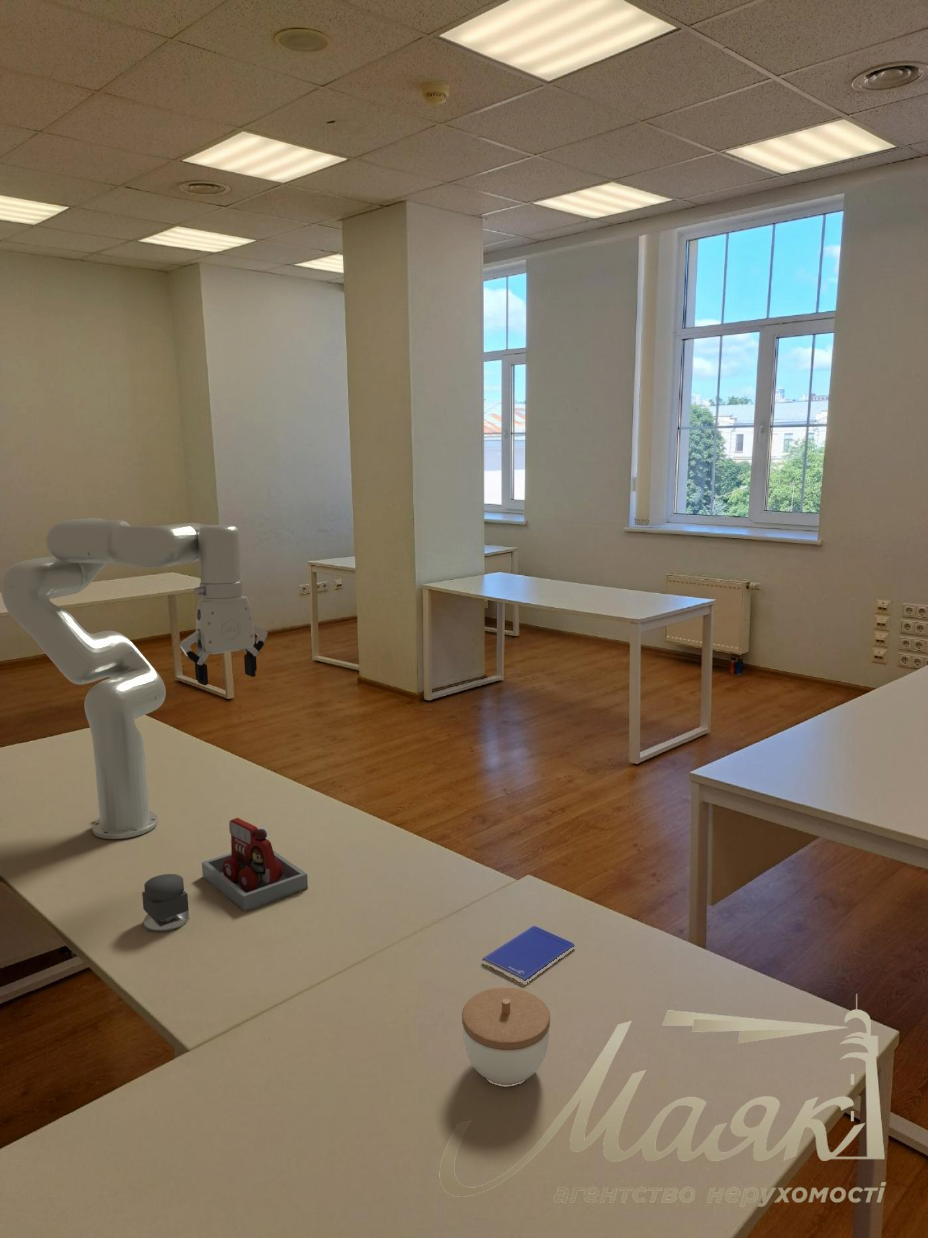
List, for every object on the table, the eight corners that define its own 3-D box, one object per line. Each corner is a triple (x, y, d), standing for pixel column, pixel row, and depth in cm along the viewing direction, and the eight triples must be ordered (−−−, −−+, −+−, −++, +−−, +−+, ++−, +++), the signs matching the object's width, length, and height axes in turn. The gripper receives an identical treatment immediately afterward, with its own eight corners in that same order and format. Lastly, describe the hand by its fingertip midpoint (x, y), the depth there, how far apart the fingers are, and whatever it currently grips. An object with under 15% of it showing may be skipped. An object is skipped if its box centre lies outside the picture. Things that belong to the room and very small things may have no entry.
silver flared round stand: (137, 920, 141) (135, 893, 140) (179, 905, 145) (177, 879, 144) (153, 937, 135) (151, 909, 134) (196, 922, 140) (194, 895, 139)
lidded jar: (484, 1112, 98) (484, 1039, 97) (448, 1055, 108) (448, 987, 106) (565, 1085, 103) (566, 1015, 101) (524, 1032, 112) (524, 967, 111)
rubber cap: (140, 909, 140) (138, 881, 139) (176, 897, 144) (174, 870, 143) (154, 923, 136) (152, 895, 135) (191, 910, 139) (189, 883, 139)
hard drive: (525, 979, 122) (575, 943, 131) (482, 957, 128) (532, 924, 137) (525, 989, 122) (574, 952, 132) (482, 966, 128) (532, 933, 137)
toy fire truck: (257, 899, 146) (254, 842, 144) (217, 876, 155) (214, 822, 153) (290, 885, 151) (287, 829, 150) (250, 863, 160) (247, 811, 158)
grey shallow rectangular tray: (202, 876, 155) (201, 862, 155) (263, 856, 163) (262, 843, 162) (244, 912, 143) (243, 896, 142) (307, 888, 151) (307, 874, 150)
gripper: (185, 598, 152) (191, 691, 155) (273, 588, 163) (277, 676, 166) (169, 593, 157) (175, 683, 161) (255, 584, 168) (259, 669, 172)
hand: (227, 679), depth 163 cm, fingers open, 9 cm apart
